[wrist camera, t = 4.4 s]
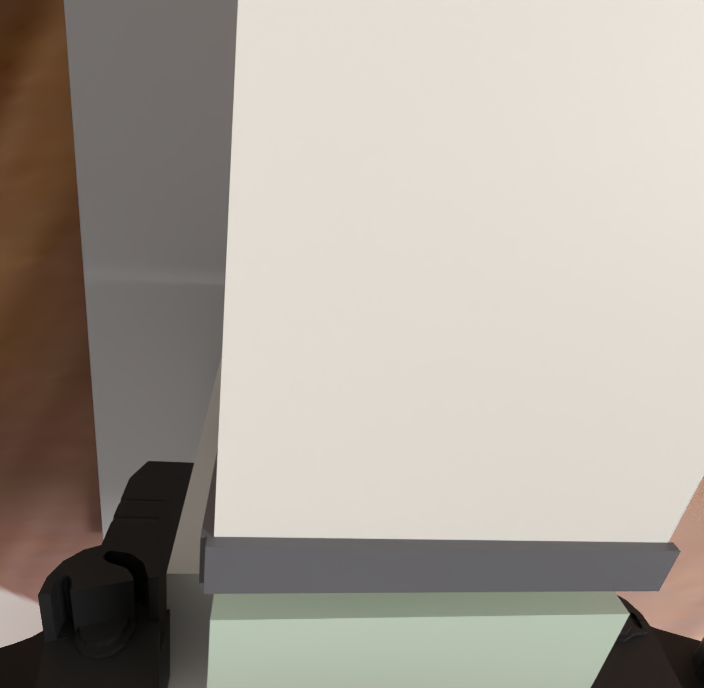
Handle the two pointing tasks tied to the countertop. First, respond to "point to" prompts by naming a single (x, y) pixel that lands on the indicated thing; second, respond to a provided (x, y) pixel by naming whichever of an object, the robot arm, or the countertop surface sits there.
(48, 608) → the robot arm
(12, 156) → the countertop surface
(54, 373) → the countertop surface
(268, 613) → the pale green block
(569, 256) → the block
